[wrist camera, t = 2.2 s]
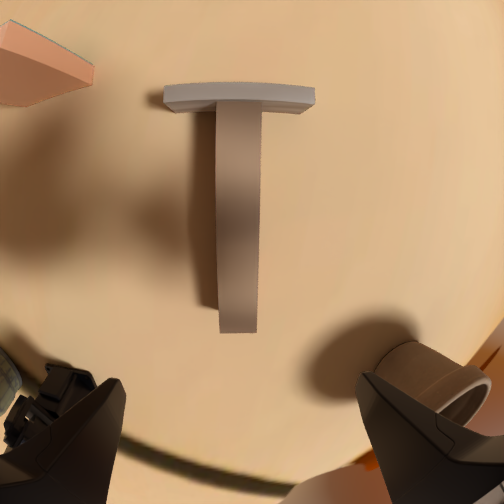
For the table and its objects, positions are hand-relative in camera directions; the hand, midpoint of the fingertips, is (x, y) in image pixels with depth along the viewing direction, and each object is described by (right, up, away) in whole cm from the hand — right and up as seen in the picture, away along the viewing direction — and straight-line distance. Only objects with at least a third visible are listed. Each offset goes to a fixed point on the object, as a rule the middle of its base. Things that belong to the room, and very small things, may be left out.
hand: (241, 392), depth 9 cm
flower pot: (+16, -7, +15) cm, 23 cm away
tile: (-14, +17, +5) cm, 23 cm away
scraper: (-1, +7, +9) cm, 12 cm away
